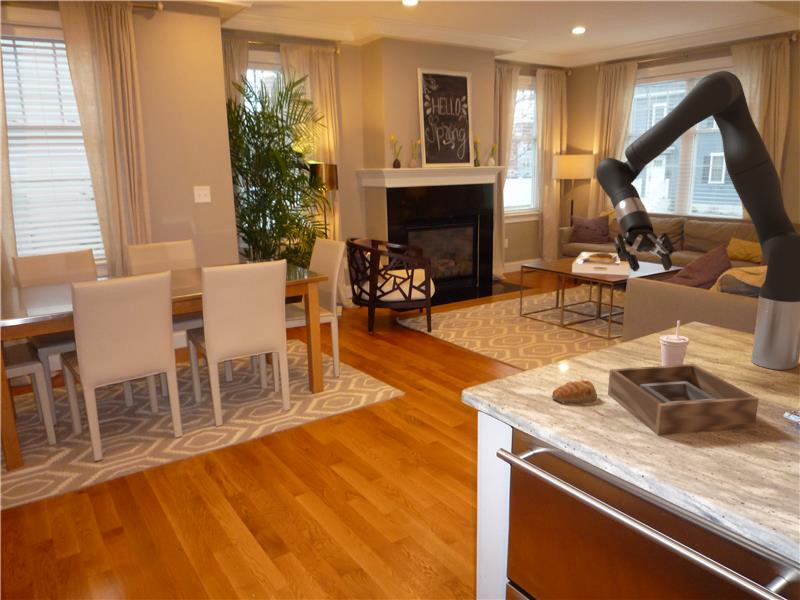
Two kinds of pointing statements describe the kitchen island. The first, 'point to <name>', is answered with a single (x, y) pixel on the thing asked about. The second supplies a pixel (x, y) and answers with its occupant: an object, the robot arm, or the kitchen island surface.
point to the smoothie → (673, 348)
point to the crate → (682, 399)
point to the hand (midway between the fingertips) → (652, 269)
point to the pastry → (575, 392)
